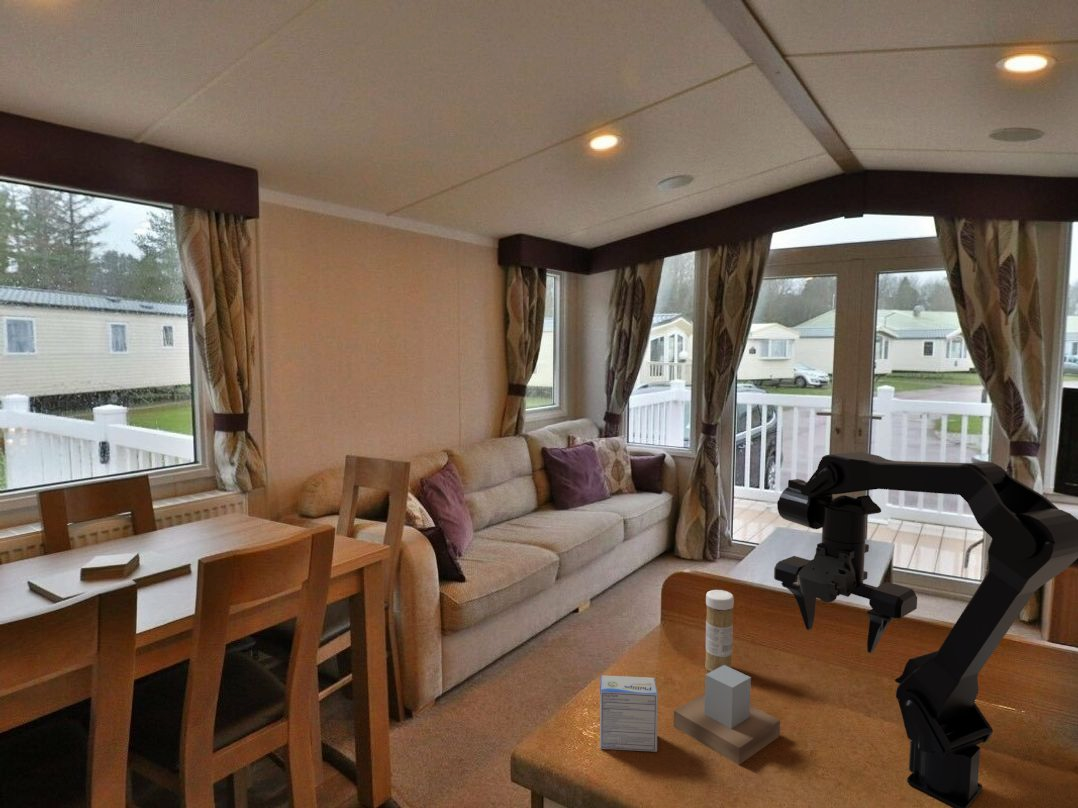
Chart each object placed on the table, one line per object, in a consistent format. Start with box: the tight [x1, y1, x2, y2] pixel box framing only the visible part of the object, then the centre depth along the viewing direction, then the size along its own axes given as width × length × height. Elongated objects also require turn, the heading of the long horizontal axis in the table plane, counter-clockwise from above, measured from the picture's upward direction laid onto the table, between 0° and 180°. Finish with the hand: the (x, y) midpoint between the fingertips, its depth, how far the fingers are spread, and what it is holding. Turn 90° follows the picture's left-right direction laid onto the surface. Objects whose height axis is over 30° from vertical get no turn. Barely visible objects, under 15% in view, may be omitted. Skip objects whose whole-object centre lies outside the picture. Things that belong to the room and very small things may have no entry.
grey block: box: [704, 665, 752, 729], centre depth 90 cm, size 4×4×6 cm
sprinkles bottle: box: [704, 589, 735, 673], centre depth 108 cm, size 5×5×14 cm
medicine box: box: [599, 675, 659, 753], centre depth 88 cm, size 8×4×9 cm, turn 84°
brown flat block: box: [673, 693, 781, 766], centre depth 91 cm, size 11×10×3 cm
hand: (838, 640), depth 93 cm, fingers open, 9 cm apart
